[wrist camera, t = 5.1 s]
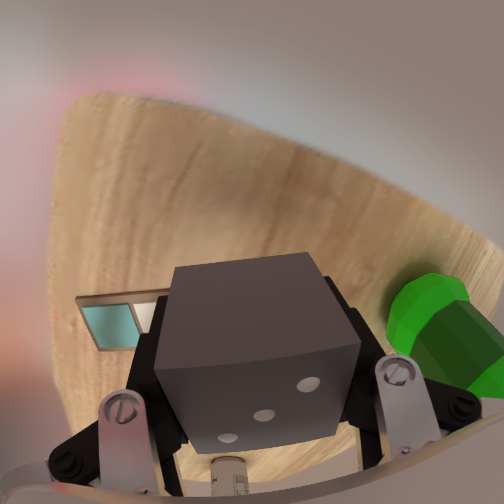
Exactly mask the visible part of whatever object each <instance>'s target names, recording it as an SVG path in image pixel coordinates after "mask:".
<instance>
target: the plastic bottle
mask: <svg viewBox="0 0 504 504" xmlns="http://www.w3.org/2000/svg"><path fill="white" fill-rule="evenodd" d="M386 335H387V339H388V341H389V342H390V344H391V345H392V347H393V348H394V350H395V351H396V352H397V354H401V355H405V356H408V357H409V358H411V359H413V360H414V361H415V362H416V363H417V365H418V366H419V368H420V371H421V373H422V375H423V376H424V378H428V379H431V380H434V381H437V382H441V383H444V384H447V385H451V386H454V387H457V388H461V389H464V390H467V391H470V392H472V393H473V394H474V395H476V396H477V398H478V399H479V400H480V399H481V398H482V397H488V398H498V399H504V337H503V335H501V333H500V332H499V331H498V330H497V329H496V328H495V327H494V326H493V325H492V324H491V323H490V322H489V321H488V320H487V319H486V318H485V317H484V316H483V315H482V314H481V313H480V312H479V311H478V310H477V309H476V308H475V307H474V306H473V305H472V304H471V303H470V300H469V296H468V293H467V290H466V288H465V286H464V284H463V283H462V282H461V281H460V280H459V279H457V278H455V277H451V276H446V275H441V274H437V273H432V272H431V273H427V274H425V275H423V276H421V277H420V278H417V279H415V280H413V281H411V282H409V283H407V284H405V285H404V286H403V287H402V289H401V290H400V291H399V293H398V294H397V295H396V296H395V299H394V301H393V303H392V305H391V309H390V314H389V318H388V322H387V327H386Z"/></svg>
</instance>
